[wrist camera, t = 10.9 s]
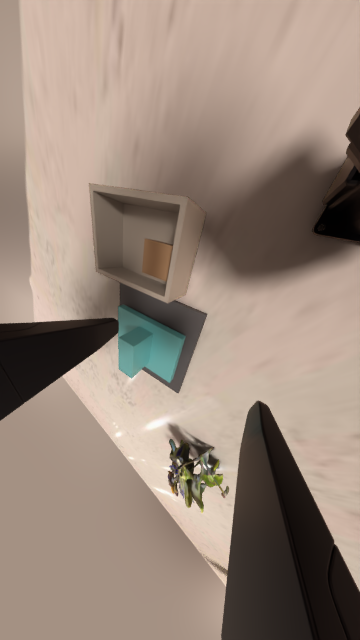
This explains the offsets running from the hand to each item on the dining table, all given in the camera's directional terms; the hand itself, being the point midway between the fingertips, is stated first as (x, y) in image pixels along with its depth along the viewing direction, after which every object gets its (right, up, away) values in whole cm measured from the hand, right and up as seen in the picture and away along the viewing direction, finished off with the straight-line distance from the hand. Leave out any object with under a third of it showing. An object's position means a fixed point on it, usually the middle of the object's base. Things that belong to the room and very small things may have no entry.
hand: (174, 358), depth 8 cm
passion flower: (+6, -28, +25) cm, 38 cm away
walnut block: (-1, +10, +11) cm, 16 cm away
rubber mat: (-5, -2, +20) cm, 20 cm away
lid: (-5, -2, +19) cm, 20 cm away
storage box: (-3, +13, +12) cm, 18 cm away
